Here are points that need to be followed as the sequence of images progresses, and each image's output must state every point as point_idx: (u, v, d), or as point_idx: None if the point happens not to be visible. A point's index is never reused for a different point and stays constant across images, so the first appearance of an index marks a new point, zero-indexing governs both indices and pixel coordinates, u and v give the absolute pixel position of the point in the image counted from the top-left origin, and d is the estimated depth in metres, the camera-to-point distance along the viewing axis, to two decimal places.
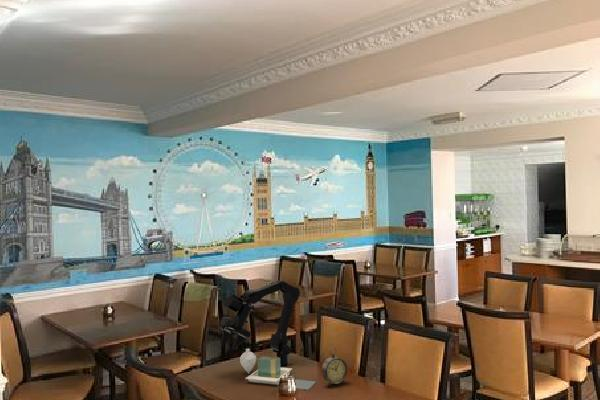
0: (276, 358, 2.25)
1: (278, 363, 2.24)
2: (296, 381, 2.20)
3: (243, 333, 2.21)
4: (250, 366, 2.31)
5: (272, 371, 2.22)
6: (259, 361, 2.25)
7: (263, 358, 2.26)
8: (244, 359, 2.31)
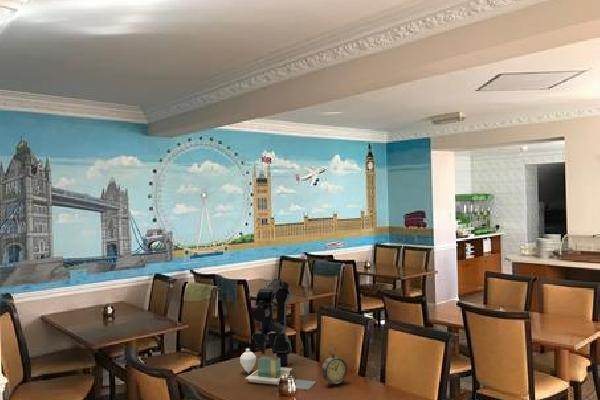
0: (276, 358, 2.25)
1: (278, 363, 2.24)
2: (296, 381, 2.20)
3: None
4: (250, 366, 2.31)
5: (272, 371, 2.22)
6: (259, 361, 2.25)
7: (263, 358, 2.26)
8: (244, 359, 2.31)
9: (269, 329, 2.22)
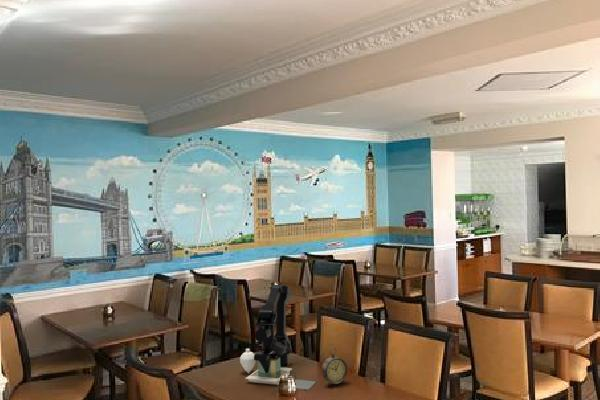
0: (276, 358, 2.25)
1: (278, 363, 2.24)
2: (296, 381, 2.20)
3: None
4: (250, 366, 2.31)
5: (272, 371, 2.22)
6: None
7: None
8: (244, 359, 2.31)
9: (270, 349, 2.22)
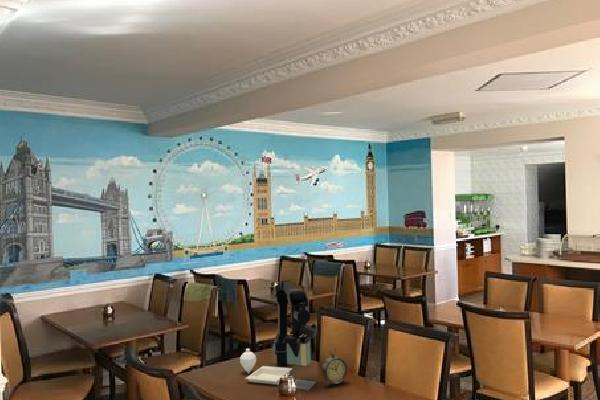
0: (306, 342, 2.17)
1: (308, 347, 2.16)
2: (296, 381, 2.20)
3: None
4: (250, 366, 2.31)
5: (302, 355, 2.13)
6: (288, 345, 2.16)
7: None
8: (244, 359, 2.31)
9: (300, 332, 2.14)
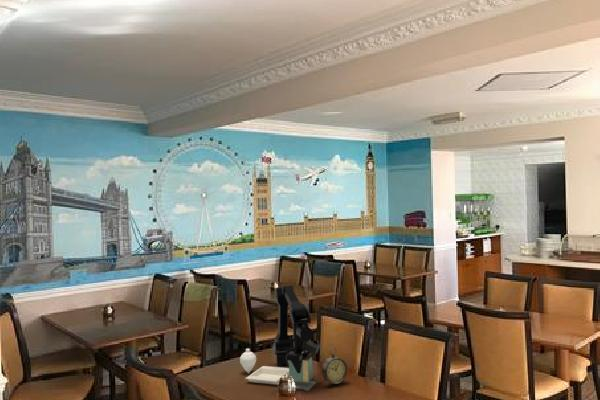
0: (308, 358, 2.16)
1: (310, 363, 2.16)
2: (296, 381, 2.20)
3: None
4: (250, 366, 2.31)
5: (305, 371, 2.13)
6: (290, 361, 2.16)
7: None
8: (244, 359, 2.31)
9: (303, 349, 2.13)
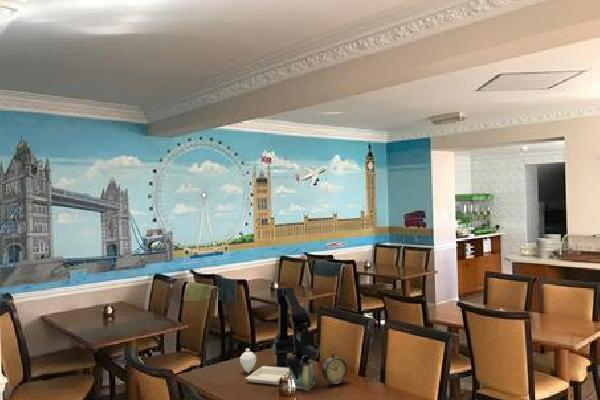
0: (308, 363, 2.16)
1: (310, 368, 2.16)
2: None
3: None
4: (250, 366, 2.31)
5: (305, 376, 2.13)
6: None
7: None
8: (244, 359, 2.31)
9: (303, 353, 2.13)
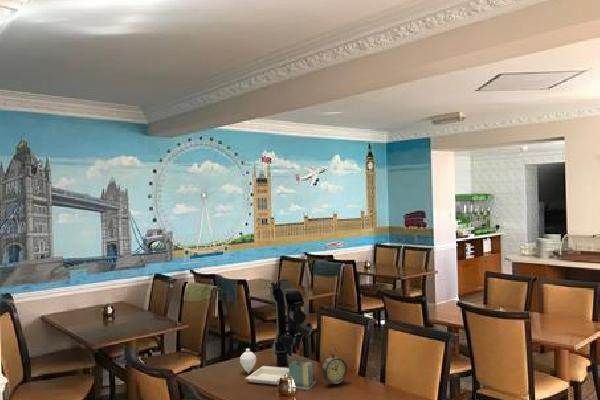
0: (308, 363, 2.16)
1: (310, 368, 2.16)
2: None
3: None
4: (250, 366, 2.31)
5: (305, 376, 2.13)
6: (290, 366, 2.16)
7: (294, 363, 2.17)
8: (244, 359, 2.31)
9: (296, 331, 2.20)
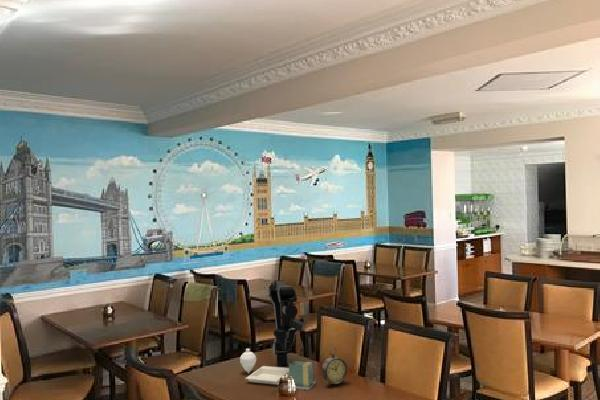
0: (308, 363, 2.16)
1: (310, 368, 2.16)
2: None
3: None
4: (250, 366, 2.31)
5: (305, 376, 2.13)
6: (290, 366, 2.16)
7: (294, 363, 2.17)
8: (244, 359, 2.31)
9: (289, 326, 2.27)
